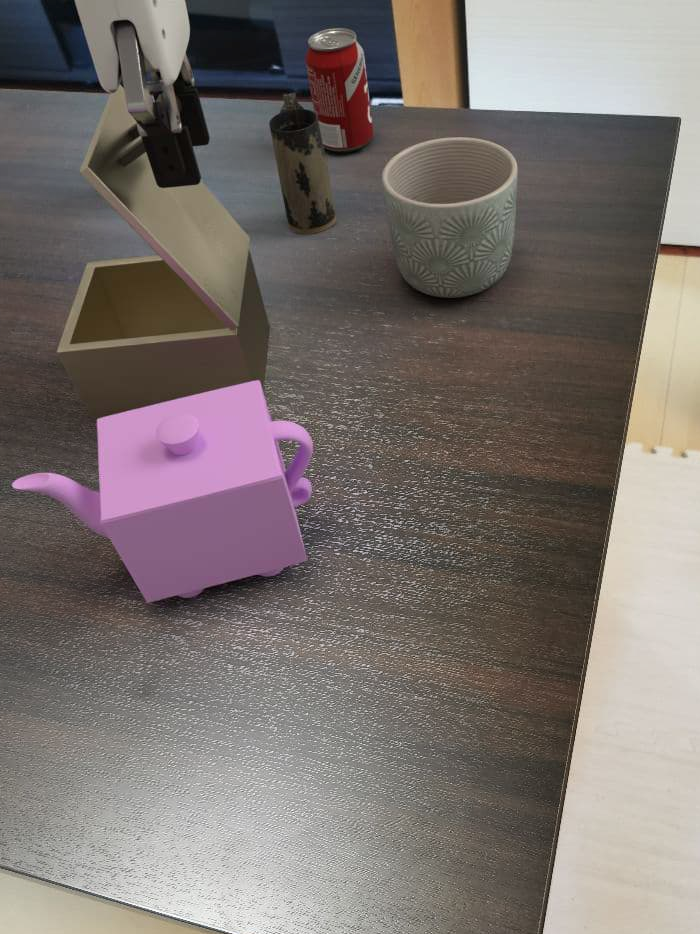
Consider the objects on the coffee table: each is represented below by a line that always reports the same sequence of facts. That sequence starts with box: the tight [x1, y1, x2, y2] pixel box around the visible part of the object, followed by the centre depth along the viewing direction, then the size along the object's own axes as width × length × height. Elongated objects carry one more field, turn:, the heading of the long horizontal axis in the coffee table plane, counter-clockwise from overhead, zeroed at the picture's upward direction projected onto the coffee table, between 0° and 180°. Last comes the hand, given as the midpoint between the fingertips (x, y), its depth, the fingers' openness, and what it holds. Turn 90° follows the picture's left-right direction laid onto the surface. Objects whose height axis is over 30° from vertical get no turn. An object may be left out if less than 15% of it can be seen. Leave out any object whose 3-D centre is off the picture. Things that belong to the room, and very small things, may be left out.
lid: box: [78, 84, 251, 331], centre depth 65 cm, size 16×13×5 cm
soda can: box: [305, 27, 374, 154], centre depth 100 cm, size 7×7×12 cm
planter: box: [381, 136, 519, 299], centre depth 81 cm, size 12×12×11 cm
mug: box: [268, 91, 338, 235], centre depth 90 cm, size 8×6×12 cm
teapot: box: [11, 380, 314, 604], centre depth 60 cm, size 20×10×12 cm, turn 105°
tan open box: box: [56, 249, 271, 430], centre depth 75 cm, size 15×13×9 cm
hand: (184, 161), depth 63 cm, fingers closed on lid, 5 cm apart
